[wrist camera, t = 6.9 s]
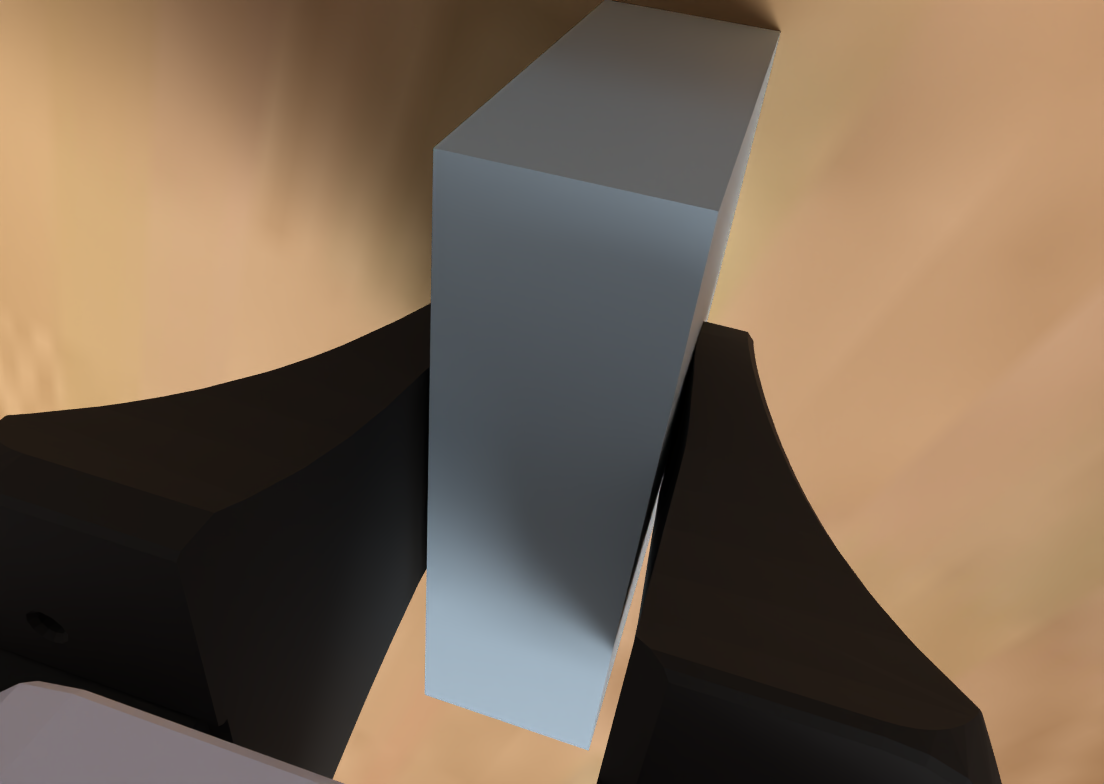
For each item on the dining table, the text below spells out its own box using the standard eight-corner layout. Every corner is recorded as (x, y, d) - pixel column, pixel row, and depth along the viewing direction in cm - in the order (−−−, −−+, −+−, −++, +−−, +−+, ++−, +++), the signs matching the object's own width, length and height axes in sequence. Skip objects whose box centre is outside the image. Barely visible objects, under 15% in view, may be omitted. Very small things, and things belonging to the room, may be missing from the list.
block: (781, 30, 11) (718, 211, 7) (669, 469, 16) (588, 750, 12) (607, -3, 12) (433, 148, 7) (549, 436, 17) (424, 694, 12)
